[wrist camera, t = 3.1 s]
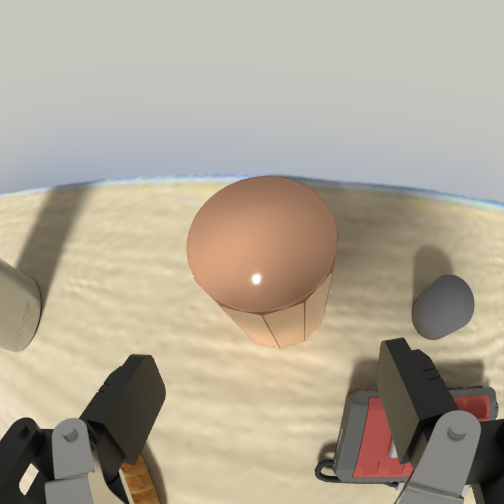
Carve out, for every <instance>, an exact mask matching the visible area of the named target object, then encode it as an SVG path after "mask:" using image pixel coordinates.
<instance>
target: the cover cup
mask: <svg viewBox="0 0 504 504" xmlns="http://www.w3.org/2000/svg"><path fill="white" fill-rule="evenodd" d="M337 241H338V232H337V227H336V223H335V219H334V217H333V215H332V212H331V210H330V209H329V207H328V205H327V204H326V203H325V201H324V200H323V199H322V198H321V197H320V196H319V195H318V194H317V193H316V192H314V191H313V190H312V189H310V188H309V187H307V186H305V185H304V184H302V183H299V182H297V181H294V180H291V179H288V178H283V177H277V176H259V177H252V178H248V179H244V180H240V181H238V182H235V183H233V184H231V185H229V186H227V187H225V188H223V189H221V190H220V191H218V192H217V193H216V194H214V195H213V196H212V197H211V198H210V199H209V200H208V201H207V202H206V203H205V204H204V205H203V206H202V207H201V209H200V210H199V211H198V213H197V214H196V216H195V218H194V220H193V222H192V224H191V227H190V230H189V233H188V238H187V258H188V263H189V266H190V269H191V271H192V274H193V275H194V279H195V281H196V282H197V283H198V284H199V285H200V287H201V288H202V289H203V290H204V291H205V292H206V293H207V294H208V295H209V296H210V297H211V298H212V299H213V300H214V301H215V303H216V304H217V305H218V306H219V307H220V308H221V309H222V310H223V311H224V312H225V313H226V314H227V315H228V316H229V317H230V318H231V319H232V320H233V321H234V322H235V323H236V324H237V325H238V326H239V327H240V328H241V329H242V330H243V331H244V332H245V333H246V334H247V335H248V336H249V337H250V338H251V339H252V340H253V341H254V342H255V343H257V344H260V345H265V346H269V347H274V348H278V349H280V348H281V349H282V348H285V347H288V346H292V345H295V344H298V343H301V342H304V341H305V340H306V339H307V338H308V337H309V336H310V335H311V334H312V333H313V332H314V330H315V329H316V328H317V327H318V326H319V325H320V324H321V322H322V317H323V313H324V309H325V305H326V300H327V296H328V292H329V287H330V282H331V278H332V273H333V267H334V261H335V255H336V249H337Z"/></svg>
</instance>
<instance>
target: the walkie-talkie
mask: <svg viewBox="0 0 504 504" xmlns="http://www.w3.org/2000/svg"><path fill="white" fill-rule="evenodd" d="M448 390H449V392H450V393H451V395H452V397H453V399H454V401H455V403H456V405H457V406H458V408H459V410H460V411H466V412H468V413H471V414H472V415H474V416H475V417H476V418H477V420H478V421H490V420H496V418H497V415H498V403H497V401H496V394H495V390H494V389H493V388H492V387H489V388H483V386H474V387H468V388H467V389H463V388H462V387H456V388H448ZM324 466H332V468H333V470H334V473H335V475H336V476H327V475H324V474H322V473H321V470H322V468H323V467H324ZM412 470H413V469H412V465H411V462H409V463H405V464H402V465H400V464H399V460H398V456H397V452H396V449H395V445H394V442H393V438H392V435H391V431H390V428H389V424H388V421H387V418H386V415H385V411H384V408H383V405H382V402H381V399H380V395H379V392H378V390H364V389H356V390H355V391H354V392H352V393H351V394H350V395H348V396H347V397H346V401H345V406H344V412H343V417H342V422H341V427H340V432H339V436H338V441H337V445H336V450H335V454H334V458H333V460H331V459H327V460H322V461H321V462H319V463H318V465H317V466H316V468H315V475H316V477H317V478H318V479H319V480H322V481H325V482H333V483H355V484H386V485H388V486H390V487H394V488H395V489H396V490H397V491H399V490H402V489H403V487H404V485H405V483H406V481H407V480H408V478H409V476H410V474H411V472H412ZM469 487H472V486H471V485H465V486H464V488H463V491H462V496H465V495H466V494H467V491H468V488H469Z"/></svg>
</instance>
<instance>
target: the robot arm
mask: <svg viewBox="0 0 504 504" xmlns="http://www.w3.org/2000/svg"><path fill="white" fill-rule="evenodd" d="M40 310H41V298H40V292H39V288H38V286H37V284H36V282H35V281H34V280H33V279H31V278H30V277H28V276H26V275H25V274H23V273H22V272H20V271H18V270H17V269H15V268H14V267H12V266H11V265H9V264H8V263H6V262H5V261H3V260H2V259H0V347H1V348H4V349H7V350H9V351H12V352H18V351H21V350H23V349H24V348H25V347H26V346H27V345H28V344H29V342H30V341H31V339H32V337H33V335H34V333H35V331H36V328H37V325H38V321H39V316H40ZM435 368H436V367H435V366H434V364H433V362H432V360H431V359H430V357H429V356H427V355H426V354H425V353H423V352H422V351H420V350H419V349H417V350H412V351H411V349H410V347H409V345H408V343H407V342H406V340H405V339H404V338H397V339H391V340H386V341H382V343H381V346H380V355H379V363H378V370H377V388H378V392H379V395H380V399H381V402H382V405H383V408H384V411H385V415H386V418H387V421H388V424H389V428H390V431H391V435H392V438H393V442H394V445H395V449H396V452H397V456H398V460H399V464H400V465H402V464H405V463H409V462H411V465H412V469H413V470H412V472H411V474H410V476H409V478H408V480H407V481H406V483H405V485H404V487H403V489H402V490H401V492H400V494H399V496H398V497H397V499H396V501H395V502H394V504H463V503H464V497H462V491H463V488H464V486H465V485H471V486H472V489H473V493H474V497H475V501H476V504H504V419H499V420H490V421H478V420H477V418H476V417H475V416H474V415H472V414H471V413H468V412H466V411H460V410H459V408H458V406H457V405H456V403H455V401H454V399H453V397H452V395H451V393H450V392H449V390H448V388H447V386H446V385H445V383H444V381H443V379H442V378H440V374H439V372H438V371H437V369H435ZM98 391H99V392H97V393H96V394H95V396H94V397H93V399H92V400H91V402H90V403H89V404H88V406H87V407H86V409H85V410H84V412H83V413H82V414H81V416H80V417H79V419H77V418H70V419H66V420H64V421H62V422H61V423H59V424H58V425H57V426H56V427H55V429H40V428H39V426H38V425H37V424H36V422H35V421H34V420H33V419H31V418H27V417H26V418H21V419H19V420H17V421H16V422H14V423H13V424H12V426H11V427H10V428H9V430H8V431H7V432H6V434H5V435H4V437H3V438H2V439H1V441H0V504H134V502H133V499H132V496H131V494H130V491H129V488H128V485H127V483H126V480H125V477H124V474H123V471H122V470H121V468H120V467H121V465H122V463H126V464H130V465H134V466H135V464H136V462H137V460H138V458H139V455H140V453H141V451H142V449H143V447H144V444H145V442H146V440H147V438H148V435H149V433H150V431H151V429H152V427H153V425H154V422H155V420H156V418H157V416H158V414H159V411H160V409H161V407H162V405H163V403H164V400H165V396H166V390H165V385H164V383H163V380H162V378H161V376H160V373H159V371H158V368H157V366H156V363H155V361H154V358H153V357H152V356H151V355H140V354H131V355H130V356H129V357H128V359H127V360H126V361H125V363H124V364H123V366H120V367H119V368H117V369H116V370H115V371H113V372H112V373H111V374H110V375H109V376H108V378H107V379H106V380H105V382H104V385H102V386H101V387H100V389H99V390H98ZM30 463H32V465H33V466H34V467H35V468H36V469H37V470H38V471H39V472H38V474H37V476H36V477H35V479H34V481H33V483H32V485H31V486H30V488H29V490H28V492H27V494H26V495H24V494H22V492H21V491H20V488H19V482H20V480H21V478H22V477H23V475H24V473H25V472H26V470H27V468H28V467H29V465H30Z"/></svg>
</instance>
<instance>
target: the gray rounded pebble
mask: <svg viewBox="0 0 504 504" xmlns="http://www.w3.org/2000/svg"><path fill="white" fill-rule="evenodd" d="M473 312H474V297H473V294H472V291H471V289H470V287H469V286H468V284H467V283H466V282H465V281H464V280H463V279H461V278H460V277H458V276H455V275H444V276H441V277H439V278H438V279H437V280H436V281H435V282H434V283H433V284H432V285H431V286H430V287H429V288H428V289H427V290H426V291H425V292H424V293H423V294H422V295H420V296H419V297H418V298H417V300H416V301H415V303H414V305H413V308H412V321H413V325H414V327H415V329H416V330H417V332H418V333H419V334H420V335H421V336H423V337H424V338H427V339H430V340H436V339H440V338H442V337H444V336H446V335H448V334H450V333H452V332H454V331H456V330H458V329H460V328H462V327H464V326H465V325H466V324H467V323H468V322H469V321H470V319H471V317H472V315H473Z"/></svg>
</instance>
